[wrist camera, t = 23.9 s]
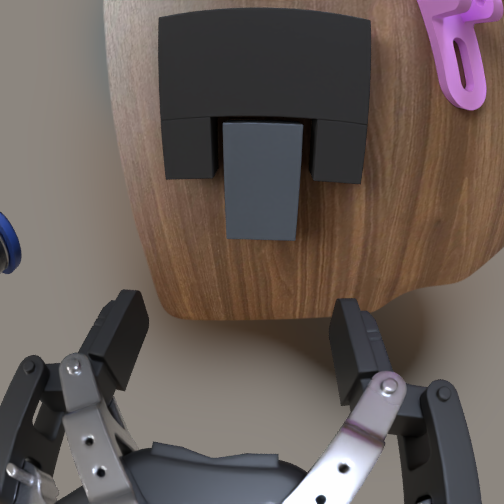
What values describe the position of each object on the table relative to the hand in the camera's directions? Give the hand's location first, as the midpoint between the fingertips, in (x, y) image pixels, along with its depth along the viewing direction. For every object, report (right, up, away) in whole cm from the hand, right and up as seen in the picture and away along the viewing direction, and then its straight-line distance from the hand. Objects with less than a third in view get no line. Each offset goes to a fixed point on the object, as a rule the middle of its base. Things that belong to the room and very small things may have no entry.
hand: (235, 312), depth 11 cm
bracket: (+20, +22, +4) cm, 30 cm away
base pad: (+2, +16, +9) cm, 18 cm away
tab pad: (+2, +9, +13) cm, 16 cm away
